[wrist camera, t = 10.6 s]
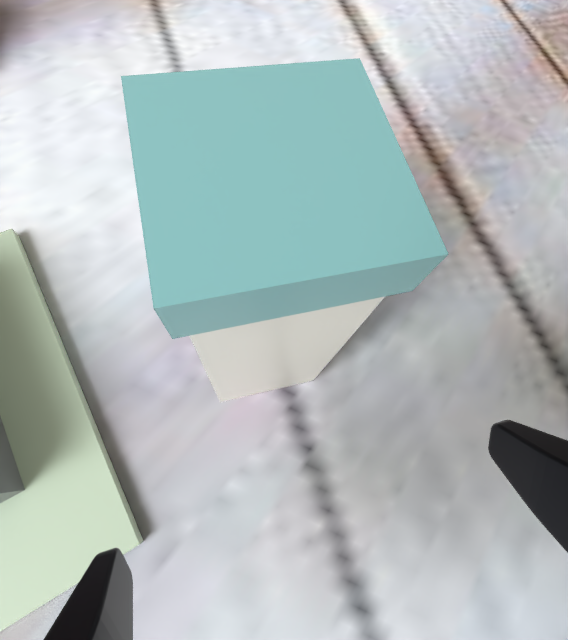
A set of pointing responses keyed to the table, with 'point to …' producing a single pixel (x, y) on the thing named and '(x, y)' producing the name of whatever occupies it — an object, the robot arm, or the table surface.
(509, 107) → the table surface
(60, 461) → the board
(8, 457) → the grey hollow block
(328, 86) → the plug
